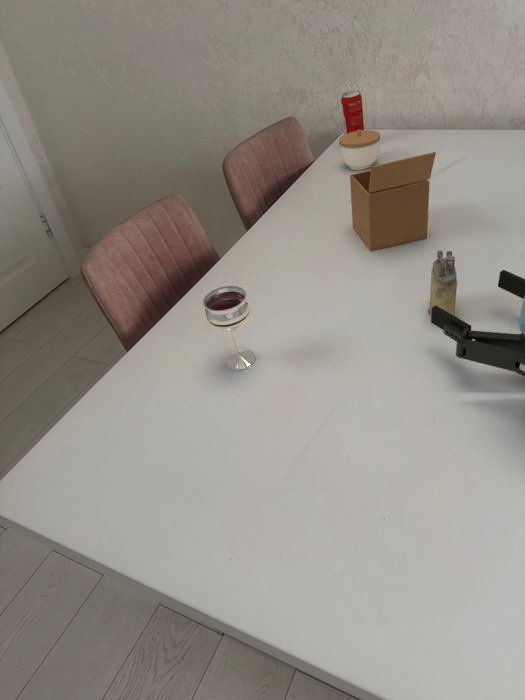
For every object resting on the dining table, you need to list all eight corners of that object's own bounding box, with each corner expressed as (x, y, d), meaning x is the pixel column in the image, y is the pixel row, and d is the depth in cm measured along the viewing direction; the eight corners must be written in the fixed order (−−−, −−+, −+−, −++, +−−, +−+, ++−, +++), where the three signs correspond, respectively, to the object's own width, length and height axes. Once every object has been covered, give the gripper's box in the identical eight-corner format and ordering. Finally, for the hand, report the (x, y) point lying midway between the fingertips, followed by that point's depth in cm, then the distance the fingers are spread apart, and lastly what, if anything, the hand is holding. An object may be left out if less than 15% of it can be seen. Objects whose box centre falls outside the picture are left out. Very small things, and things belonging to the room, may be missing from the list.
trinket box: (332, 169, 137) (330, 134, 132) (358, 156, 142) (357, 121, 136) (362, 176, 130) (361, 139, 125) (389, 162, 135) (388, 125, 129)
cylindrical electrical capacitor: (455, 324, 78) (460, 269, 72) (429, 325, 79) (433, 271, 73) (450, 299, 84) (454, 245, 77) (426, 299, 84) (429, 247, 78)
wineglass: (269, 352, 81) (256, 290, 73) (244, 378, 77) (228, 315, 69) (236, 342, 84) (220, 282, 77) (211, 366, 80) (192, 305, 73)
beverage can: (367, 143, 149) (365, 88, 140) (361, 151, 145) (358, 95, 136) (348, 143, 152) (345, 90, 142) (341, 151, 147) (338, 96, 138)
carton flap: (429, 177, 93) (429, 179, 93) (368, 191, 92) (369, 192, 92) (435, 151, 88) (436, 152, 88) (371, 166, 88) (371, 167, 87)
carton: (427, 238, 100) (429, 181, 93) (370, 251, 100) (368, 195, 93) (404, 215, 110) (405, 162, 102) (352, 227, 109) (349, 174, 102)
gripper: (529, 439, 57) (402, 350, 73) (664, 348, 65) (522, 284, 80) (541, 393, 53) (403, 308, 68) (685, 301, 60) (530, 242, 75)
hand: (467, 295), depth 74 cm, fingers open, 13 cm apart
